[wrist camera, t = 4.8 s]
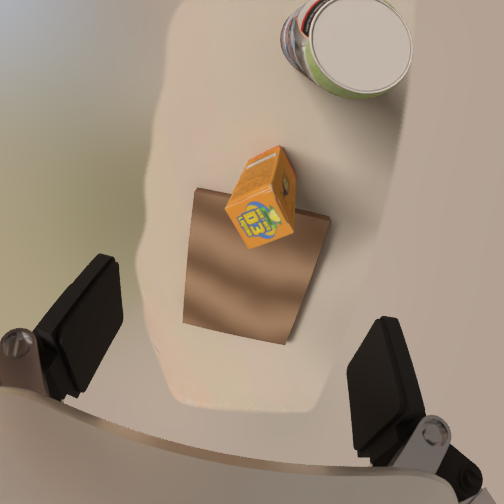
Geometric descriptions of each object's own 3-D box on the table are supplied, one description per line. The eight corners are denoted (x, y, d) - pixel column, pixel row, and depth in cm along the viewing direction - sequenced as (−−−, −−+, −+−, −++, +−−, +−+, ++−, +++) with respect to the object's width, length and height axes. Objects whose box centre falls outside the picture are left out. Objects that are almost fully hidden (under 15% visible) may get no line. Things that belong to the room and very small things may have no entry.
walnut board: (197, 187, 27) (194, 191, 27) (329, 216, 27) (330, 221, 27) (184, 316, 36) (182, 322, 35) (285, 338, 36) (284, 345, 35)
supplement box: (243, 160, 26) (219, 205, 17) (280, 143, 25) (276, 180, 16) (261, 193, 27) (247, 253, 19) (297, 178, 26) (302, 232, 17)
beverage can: (321, -3, 18) (346, -63, 7) (382, 64, 20) (452, 57, 10) (262, 41, 20) (241, 7, 10) (325, 107, 23) (355, 128, 12)
